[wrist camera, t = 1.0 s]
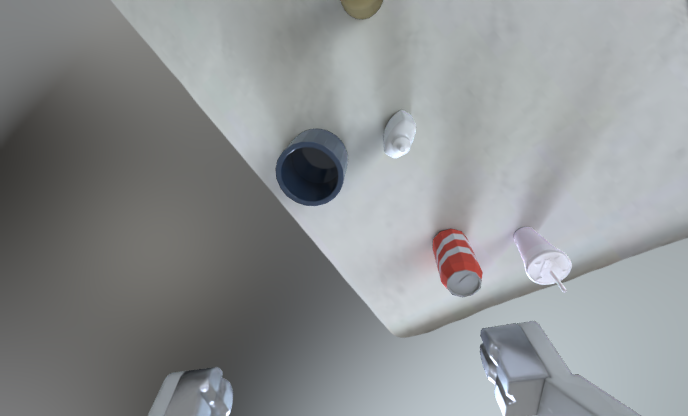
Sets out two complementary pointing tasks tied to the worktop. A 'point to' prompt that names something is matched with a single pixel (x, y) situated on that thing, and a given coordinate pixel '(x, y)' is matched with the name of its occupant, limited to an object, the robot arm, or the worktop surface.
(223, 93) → the worktop surface
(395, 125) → the eye dropper bottle
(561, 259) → the smoothie
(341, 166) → the dark blue round pot
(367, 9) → the olive pawn
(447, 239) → the beverage can
